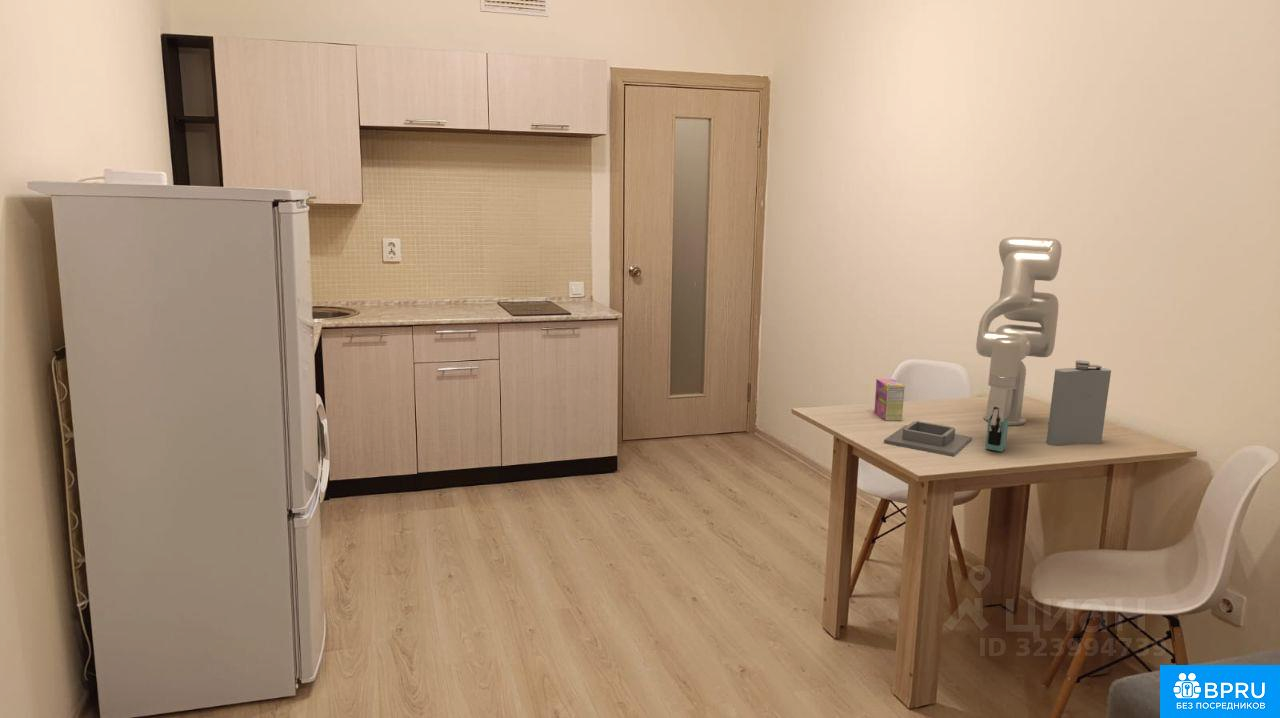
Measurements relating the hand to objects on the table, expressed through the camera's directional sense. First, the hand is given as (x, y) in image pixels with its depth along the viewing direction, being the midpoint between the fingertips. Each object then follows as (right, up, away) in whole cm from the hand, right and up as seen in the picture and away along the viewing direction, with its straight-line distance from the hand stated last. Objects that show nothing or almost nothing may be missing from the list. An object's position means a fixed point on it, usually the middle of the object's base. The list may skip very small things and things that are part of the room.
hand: (996, 441), depth 243 cm
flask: (+27, -1, +9) cm, 28 cm away
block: (0, -2, 0) cm, 2 cm away
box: (-21, +5, +34) cm, 40 cm away
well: (-17, -1, +7) cm, 19 cm away
